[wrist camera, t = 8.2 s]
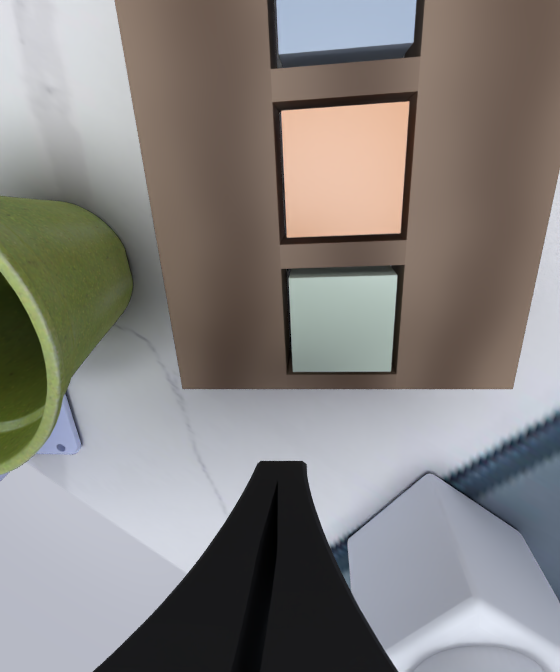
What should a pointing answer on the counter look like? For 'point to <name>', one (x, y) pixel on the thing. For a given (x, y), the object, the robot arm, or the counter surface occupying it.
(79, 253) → the plant pot
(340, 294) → the button sage
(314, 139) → the button terracotta
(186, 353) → the button panel
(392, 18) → the button slate
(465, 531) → the medicine bottle
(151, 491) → the counter surface
